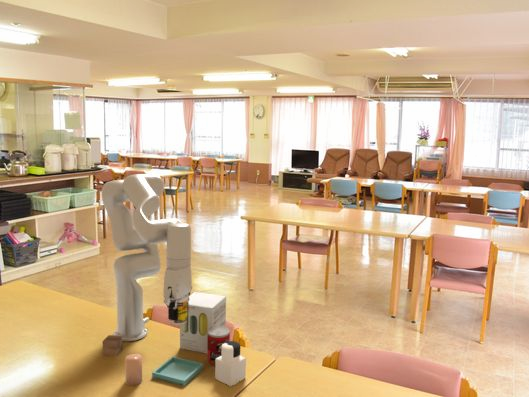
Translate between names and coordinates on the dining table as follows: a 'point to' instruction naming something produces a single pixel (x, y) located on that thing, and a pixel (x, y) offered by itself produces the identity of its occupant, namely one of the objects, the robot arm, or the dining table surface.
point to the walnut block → (112, 345)
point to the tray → (177, 371)
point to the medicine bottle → (230, 364)
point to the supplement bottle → (181, 311)
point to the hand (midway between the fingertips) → (178, 315)
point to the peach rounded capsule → (133, 369)
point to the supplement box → (202, 320)
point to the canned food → (216, 342)
